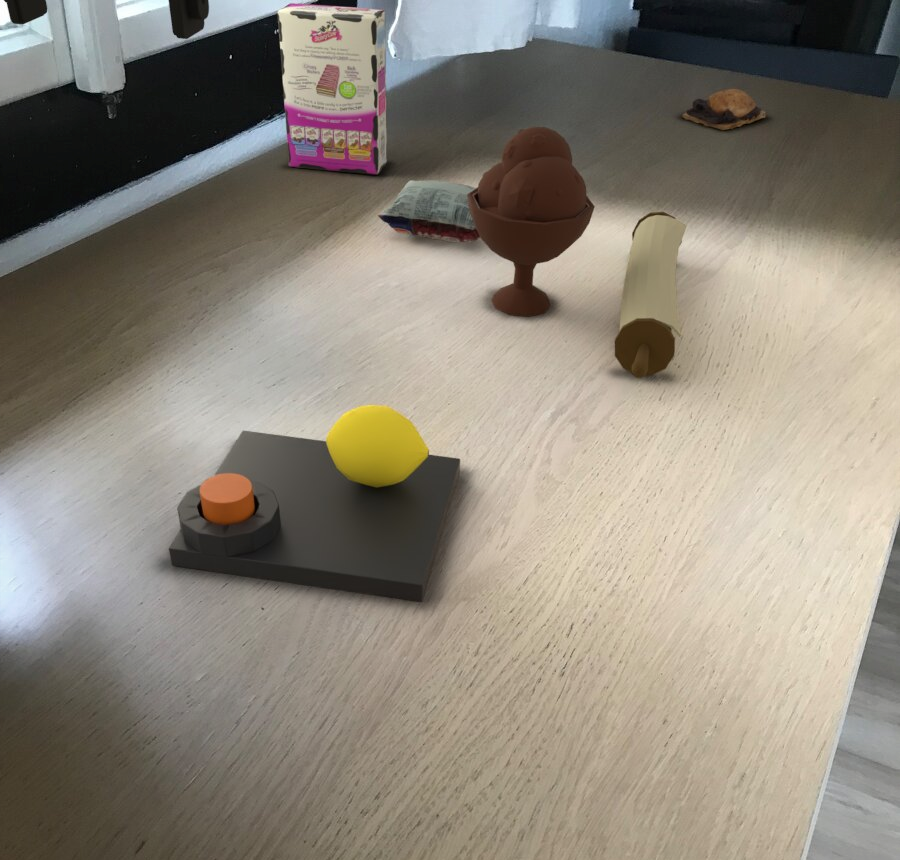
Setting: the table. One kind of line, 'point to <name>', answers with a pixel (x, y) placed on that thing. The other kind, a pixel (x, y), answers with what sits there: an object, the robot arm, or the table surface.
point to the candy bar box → (334, 87)
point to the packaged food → (433, 211)
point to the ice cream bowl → (530, 212)
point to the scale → (321, 521)
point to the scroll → (650, 296)
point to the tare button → (227, 498)
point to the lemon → (375, 446)
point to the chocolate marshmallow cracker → (725, 110)
